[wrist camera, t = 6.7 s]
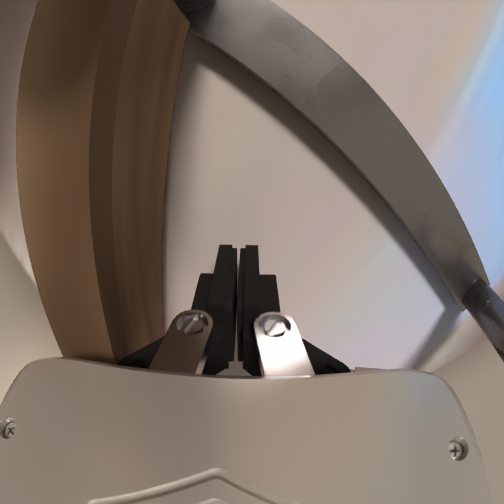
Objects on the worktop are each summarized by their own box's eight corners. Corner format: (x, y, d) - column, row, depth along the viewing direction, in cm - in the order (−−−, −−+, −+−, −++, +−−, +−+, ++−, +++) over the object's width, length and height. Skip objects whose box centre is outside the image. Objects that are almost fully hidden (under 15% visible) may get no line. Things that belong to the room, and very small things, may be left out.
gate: (196, 22, 8) (135, -58, 2) (169, 378, 17) (153, 462, 11) (147, 23, 7) (51, -34, 2) (142, 372, 17) (120, 454, 11)
